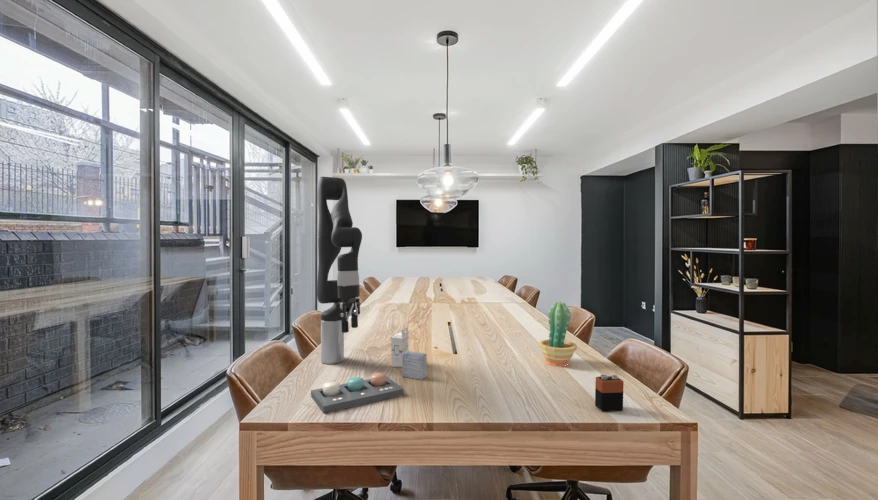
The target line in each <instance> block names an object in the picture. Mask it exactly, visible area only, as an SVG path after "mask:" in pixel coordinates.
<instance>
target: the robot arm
mask: <svg viewBox="0 0 878 500" xmlns="http://www.w3.org/2000/svg"><path fill="white" fill-rule="evenodd" d="M316 190H317V203H318V204H317V205H318V209H317V210H318V230H317V231H318V235H317V236H318V237H317V238H318V239H317V244H318V245H317V249H318V268H317V269H318V270H317V282H316V298H317V302H318V303H320V304H322V305H323V304H331V303H332V306H331V307H330V308H328V309H326V310H324V311H322V312H321V314H320V363H323V364H327V365H329V364H330V365H331V364H339V363H342V362H343V361H344V360H345V333H346V334H347V333H348V332H350V330H349V328H350V327H349V325H351V328H352V329H356V328H358V327H359V322H358V321H359V319H358V318H359V315H361V305H360V302H361V301H360V298H359V297H360V296H361V295H360V294H361V293H360V292H361V291H360V274H359V253H360V248H361V246H362V245H361V244H362V240H363V233H362V230H361V229H360V228H359V227H355V226H353V224H354V223H353V219H352V216H351V212H350V209H349V197H348V195H349V194H348V188H347V183H346V180H345V179H344V178H341V177H334V176H332V177H331V176H319V177H318V180H317V189H316ZM327 201H337V202H336V203H335V204H334V205H333V207H332V209H331V211H330V209H329V207H328V202H327ZM342 248H351V249H350V250H349V252H346V253H342V254H340V253H341V250H342ZM336 259H337V260H336ZM335 261H337V277H336V279H334V280H333V279H331V280H328V278H329V274H330V270H331V268H332V266H333V264H334V262H335ZM349 318H350V319H349ZM349 320H350V324H349Z"/></svg>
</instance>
